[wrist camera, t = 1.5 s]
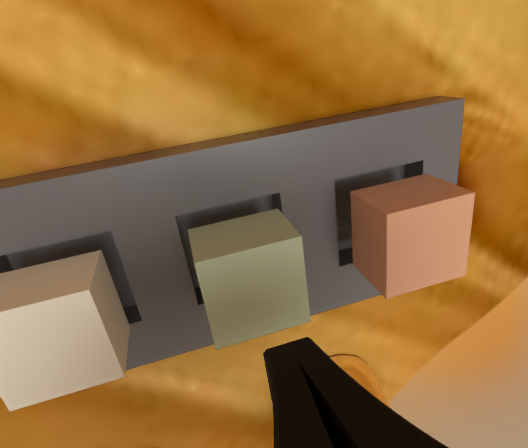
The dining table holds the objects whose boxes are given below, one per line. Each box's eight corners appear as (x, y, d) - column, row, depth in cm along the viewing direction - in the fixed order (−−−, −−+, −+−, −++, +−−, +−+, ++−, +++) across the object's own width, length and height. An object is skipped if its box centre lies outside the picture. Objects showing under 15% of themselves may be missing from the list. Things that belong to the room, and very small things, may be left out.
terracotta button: (422, 246, 19) (465, 275, 17) (353, 265, 18) (386, 298, 16) (426, 173, 18) (475, 192, 15) (350, 191, 17) (386, 214, 14)
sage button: (287, 283, 18) (310, 321, 15) (206, 306, 17) (216, 349, 14) (277, 208, 16) (301, 236, 13) (187, 229, 15) (194, 263, 13)
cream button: (129, 327, 16) (124, 377, 14) (34, 353, 16) (9, 411, 13) (101, 249, 15) (89, 289, 12) (-7, 275, 14) (-46, 323, 11)
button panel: (429, 261, 23) (448, 274, 22) (20, 377, 19) (8, 405, 17) (440, 96, 19) (464, 98, 17) (-85, 196, 15) (-113, 211, 13)
